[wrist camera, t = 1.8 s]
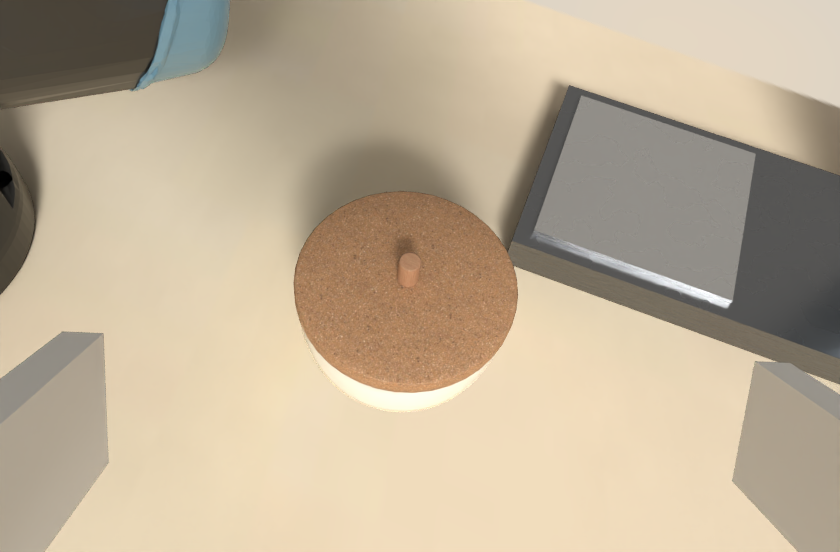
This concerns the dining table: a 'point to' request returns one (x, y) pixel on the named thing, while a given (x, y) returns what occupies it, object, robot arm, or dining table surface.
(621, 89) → the dining table surface
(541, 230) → the arbor press
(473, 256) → the lidded jar
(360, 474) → the dining table surface
